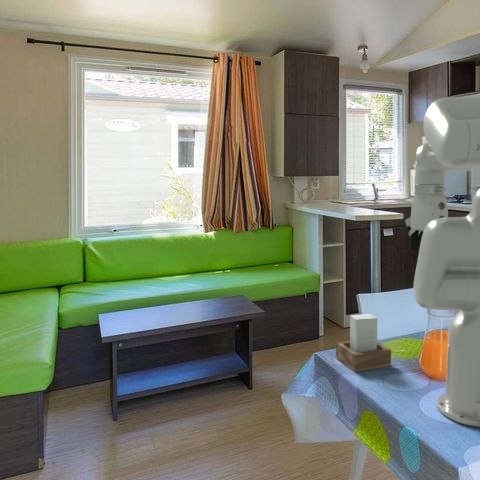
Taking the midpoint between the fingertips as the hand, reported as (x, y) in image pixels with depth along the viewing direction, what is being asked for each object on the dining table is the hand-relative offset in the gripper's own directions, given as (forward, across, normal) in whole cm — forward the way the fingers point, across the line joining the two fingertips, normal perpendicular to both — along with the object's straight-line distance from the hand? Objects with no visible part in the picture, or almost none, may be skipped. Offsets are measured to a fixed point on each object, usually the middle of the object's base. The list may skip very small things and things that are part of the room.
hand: (426, 251), depth 123 cm
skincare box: (+28, -2, +22) cm, 35 cm away
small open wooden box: (+28, -2, +22) cm, 36 cm away
